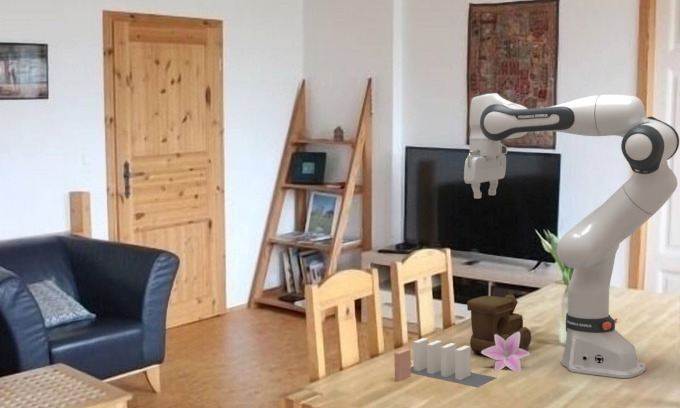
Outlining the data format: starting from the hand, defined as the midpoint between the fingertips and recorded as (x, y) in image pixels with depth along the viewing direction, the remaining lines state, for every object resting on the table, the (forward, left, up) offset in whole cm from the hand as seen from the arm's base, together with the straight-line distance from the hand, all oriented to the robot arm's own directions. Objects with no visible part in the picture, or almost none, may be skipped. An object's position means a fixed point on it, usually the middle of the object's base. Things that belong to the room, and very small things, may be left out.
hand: (485, 196), depth 270 cm
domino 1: (+2, +39, -46) cm, 60 cm away
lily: (-15, +14, -46) cm, 50 cm away
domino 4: (-6, +29, -45) cm, 54 cm away
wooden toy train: (-5, 0, -46) cm, 46 cm away
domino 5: (-10, +29, -45) cm, 54 cm away
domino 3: (-1, +29, -45) cm, 53 cm away
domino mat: (-6, +29, -46) cm, 54 cm away
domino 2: (+3, +29, -45) cm, 54 cm away
